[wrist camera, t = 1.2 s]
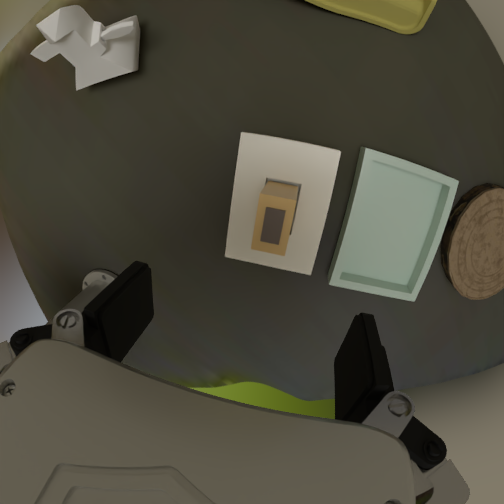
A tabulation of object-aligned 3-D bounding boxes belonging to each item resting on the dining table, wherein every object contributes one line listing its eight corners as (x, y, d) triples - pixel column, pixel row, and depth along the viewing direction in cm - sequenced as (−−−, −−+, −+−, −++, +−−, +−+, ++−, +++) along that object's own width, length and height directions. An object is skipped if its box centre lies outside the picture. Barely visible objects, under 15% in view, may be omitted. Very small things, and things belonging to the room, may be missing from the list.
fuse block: (310, 263, 33) (310, 275, 31) (231, 246, 34) (224, 256, 32) (337, 149, 27) (341, 151, 25) (247, 132, 28) (241, 132, 26)
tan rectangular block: (289, 225, 31) (284, 257, 24) (263, 220, 31) (250, 249, 24) (298, 183, 29) (296, 201, 21) (270, 177, 29) (259, 193, 22)
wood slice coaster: (419, 236, 30) (428, 245, 27) (493, 159, 23) (506, 162, 20) (463, 307, 32) (471, 318, 29) (527, 242, 25) (537, 250, 23)
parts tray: (408, 291, 32) (414, 301, 30) (327, 274, 34) (328, 284, 31) (449, 177, 25) (458, 181, 23) (360, 146, 27) (365, 147, 24)
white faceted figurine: (163, 71, 26) (88, 51, 14) (82, 94, 29) (7, 97, 16) (166, 16, 23) (100, -22, 11) (85, 45, 25) (15, 35, 13)
